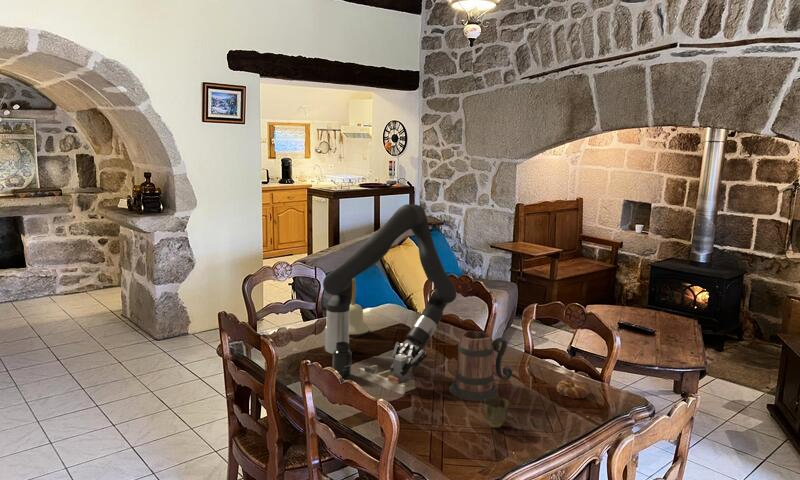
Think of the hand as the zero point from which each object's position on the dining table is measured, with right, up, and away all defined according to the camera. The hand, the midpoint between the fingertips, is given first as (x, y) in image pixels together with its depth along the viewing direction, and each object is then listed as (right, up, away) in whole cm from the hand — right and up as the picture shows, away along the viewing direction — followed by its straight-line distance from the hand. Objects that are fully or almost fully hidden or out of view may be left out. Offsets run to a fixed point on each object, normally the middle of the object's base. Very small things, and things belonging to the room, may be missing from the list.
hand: (397, 372), depth 202 cm
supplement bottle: (-20, -4, +12) cm, 24 cm away
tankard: (+29, -7, +3) cm, 30 cm away
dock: (-3, -5, +6) cm, 9 cm away
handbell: (-21, +3, +64) cm, 67 cm away
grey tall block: (+1, -4, +2) cm, 5 cm away
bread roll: (+60, -8, +2) cm, 61 cm away
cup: (+30, -11, -25) cm, 40 cm away
